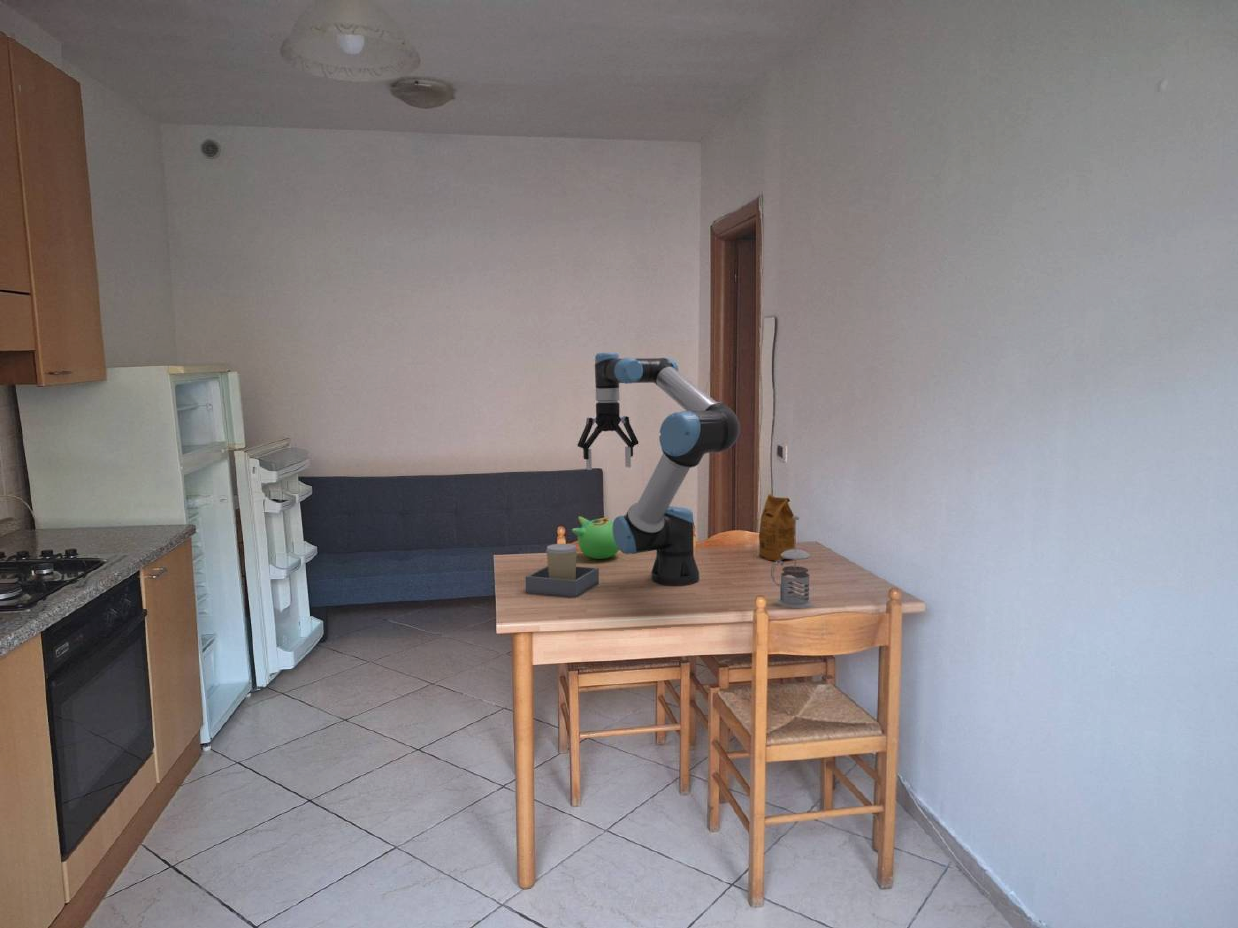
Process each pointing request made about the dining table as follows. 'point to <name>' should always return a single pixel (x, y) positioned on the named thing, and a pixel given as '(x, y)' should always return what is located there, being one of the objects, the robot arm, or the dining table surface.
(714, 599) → the dining table surface
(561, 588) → the bin
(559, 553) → the coffee cup
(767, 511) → the coffee package
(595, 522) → the green round figure
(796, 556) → the french press
